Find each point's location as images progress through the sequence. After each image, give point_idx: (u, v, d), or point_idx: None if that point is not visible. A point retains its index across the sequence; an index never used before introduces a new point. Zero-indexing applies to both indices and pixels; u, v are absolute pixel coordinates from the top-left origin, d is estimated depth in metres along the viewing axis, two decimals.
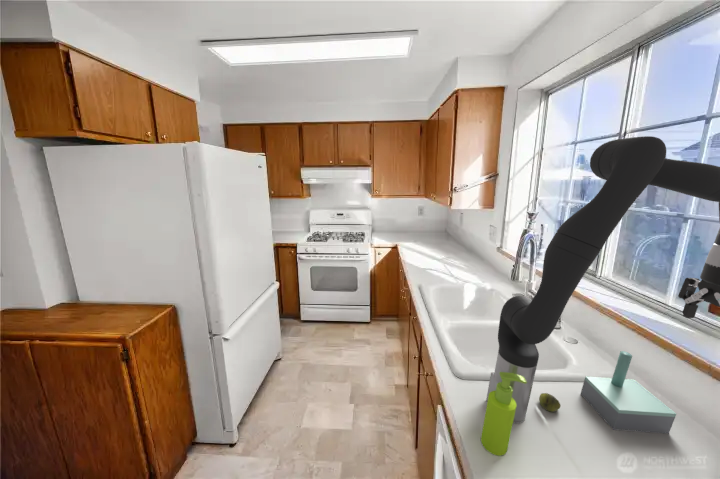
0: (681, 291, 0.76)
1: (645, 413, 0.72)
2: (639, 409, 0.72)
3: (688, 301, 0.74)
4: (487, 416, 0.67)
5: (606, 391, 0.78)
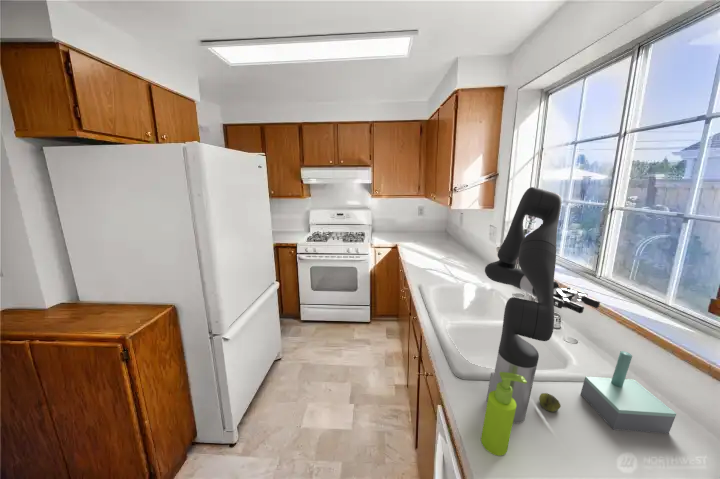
0: (556, 298, 0.87)
1: (645, 413, 0.72)
2: (639, 409, 0.72)
3: (567, 300, 0.87)
4: (487, 416, 0.67)
5: (606, 391, 0.78)
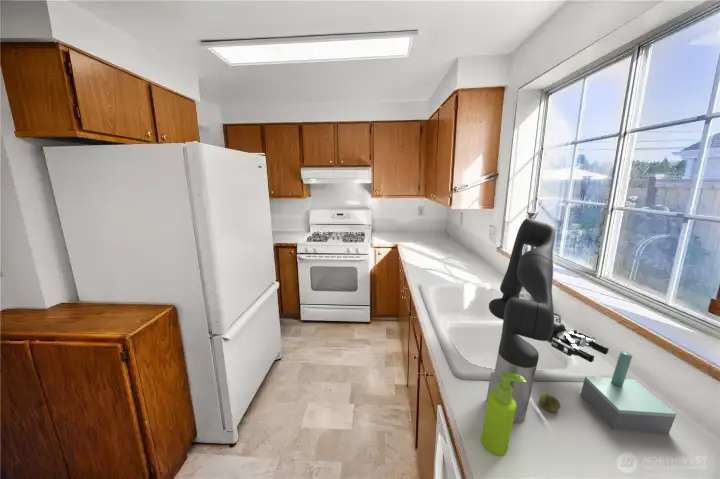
0: (566, 345, 0.86)
1: (645, 413, 0.72)
2: (639, 409, 0.72)
3: (576, 347, 0.85)
4: (487, 416, 0.67)
5: (606, 391, 0.78)
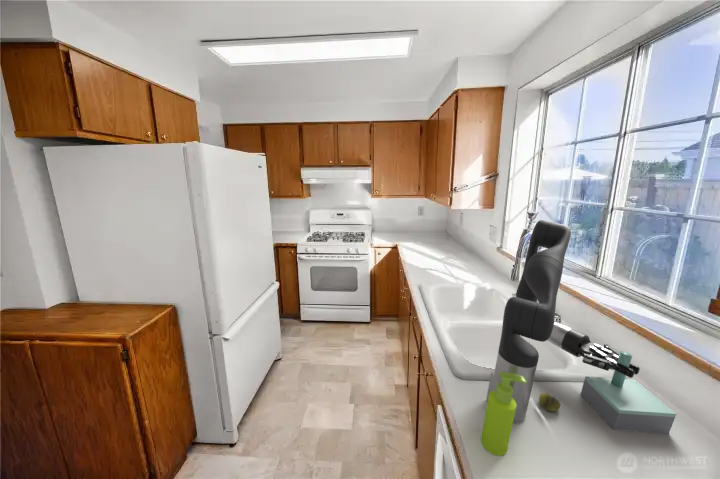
0: (602, 360, 0.80)
1: (645, 413, 0.72)
2: (639, 409, 0.72)
3: None
4: (487, 416, 0.67)
5: (606, 391, 0.78)
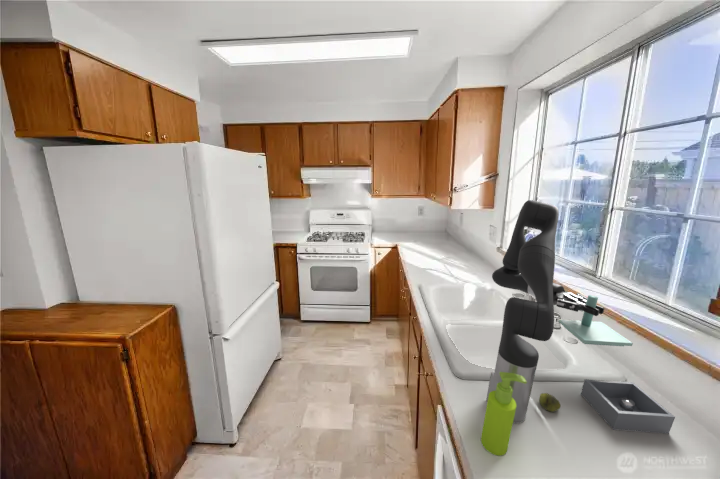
0: (572, 303, 0.92)
1: (606, 343, 0.84)
2: (601, 340, 0.85)
3: (583, 303, 0.92)
4: (487, 416, 0.67)
5: (575, 328, 0.91)
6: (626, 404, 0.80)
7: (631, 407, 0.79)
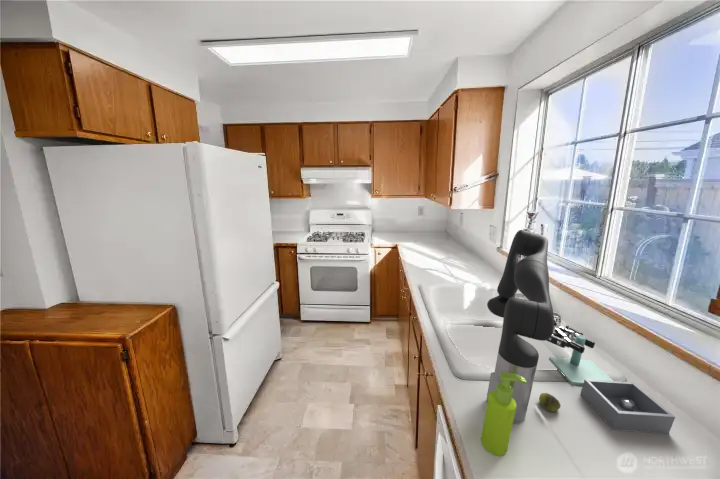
0: (559, 339, 0.96)
1: None
2: None
3: (569, 339, 0.95)
4: (487, 416, 0.67)
5: (564, 368, 0.95)
6: (626, 404, 0.80)
7: (631, 407, 0.79)
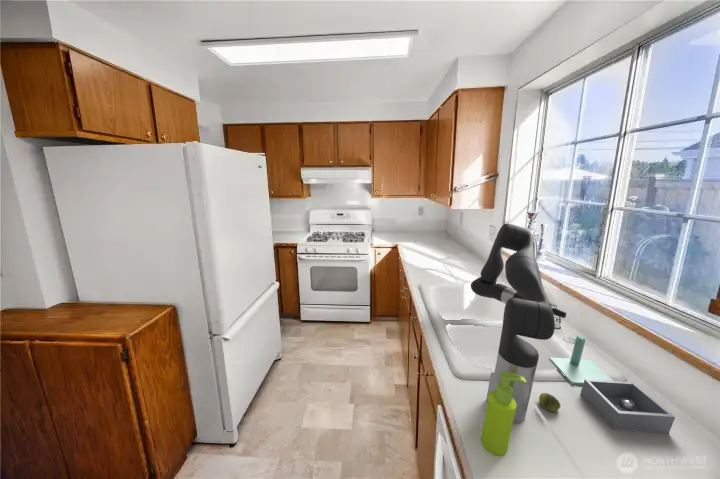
0: None
1: None
2: None
3: None
4: (487, 416, 0.67)
5: (564, 368, 0.95)
6: (626, 404, 0.80)
7: (631, 407, 0.79)
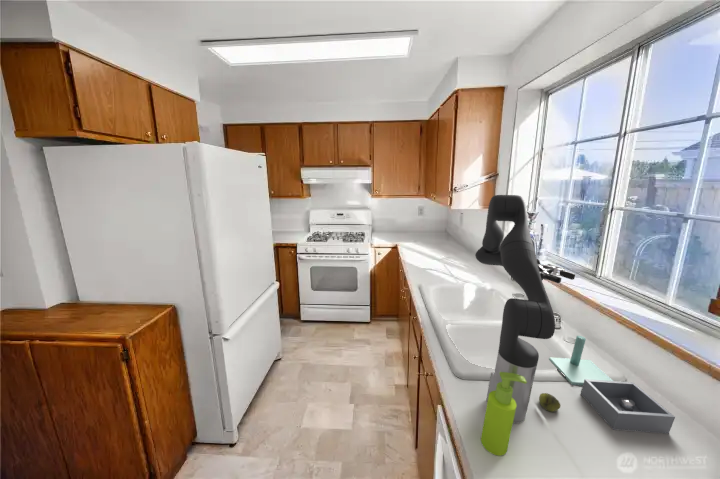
0: None
1: None
2: None
3: (547, 272, 0.99)
4: (487, 416, 0.67)
5: (564, 368, 0.95)
6: (626, 404, 0.80)
7: (631, 407, 0.79)
